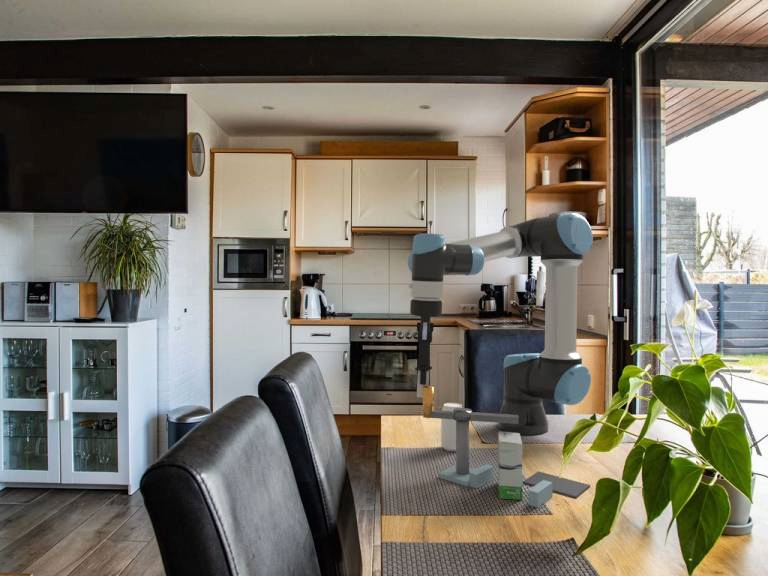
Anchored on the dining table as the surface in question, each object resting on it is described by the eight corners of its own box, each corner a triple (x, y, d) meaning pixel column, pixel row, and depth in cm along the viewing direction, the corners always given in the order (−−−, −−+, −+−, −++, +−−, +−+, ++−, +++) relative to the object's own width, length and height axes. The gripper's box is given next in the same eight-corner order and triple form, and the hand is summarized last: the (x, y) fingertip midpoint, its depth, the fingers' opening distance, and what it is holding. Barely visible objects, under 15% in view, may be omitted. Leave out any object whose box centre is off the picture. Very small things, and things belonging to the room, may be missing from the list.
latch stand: (457, 467, 121) (457, 413, 121) (553, 495, 105) (553, 433, 105) (438, 477, 115) (438, 420, 115) (536, 508, 99) (536, 442, 99)
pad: (538, 473, 117) (538, 471, 117) (590, 486, 109) (590, 484, 109) (522, 483, 111) (522, 481, 111) (576, 498, 103) (576, 496, 103)
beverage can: (462, 453, 131) (462, 408, 131) (439, 451, 133) (439, 406, 133) (465, 446, 137) (465, 402, 137) (443, 444, 139) (443, 401, 139)
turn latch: (424, 413, 120) (424, 384, 120) (518, 419, 114) (518, 389, 114) (421, 418, 115) (421, 388, 115) (518, 425, 110) (518, 393, 110)
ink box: (523, 501, 102) (523, 443, 102) (498, 499, 103) (498, 442, 103) (520, 484, 111) (520, 431, 111) (497, 482, 112) (497, 430, 112)
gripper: (412, 296, 125) (408, 389, 126) (409, 300, 112) (405, 403, 113) (442, 297, 124) (438, 391, 125) (442, 301, 111) (438, 405, 112)
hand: (422, 396), depth 119 cm, fingers closed
